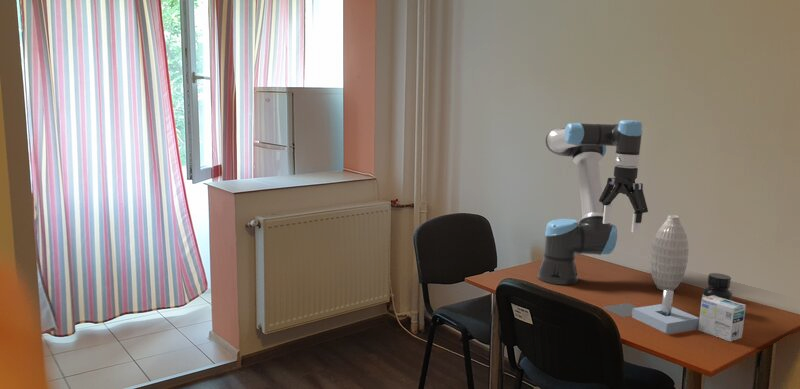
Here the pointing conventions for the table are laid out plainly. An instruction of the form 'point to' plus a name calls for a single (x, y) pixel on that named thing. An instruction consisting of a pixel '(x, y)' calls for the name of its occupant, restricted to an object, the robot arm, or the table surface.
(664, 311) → the pin
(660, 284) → the vase
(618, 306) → the mat
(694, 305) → the table surface
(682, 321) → the socket block
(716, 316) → the light bulb box
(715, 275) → the ink bottle
